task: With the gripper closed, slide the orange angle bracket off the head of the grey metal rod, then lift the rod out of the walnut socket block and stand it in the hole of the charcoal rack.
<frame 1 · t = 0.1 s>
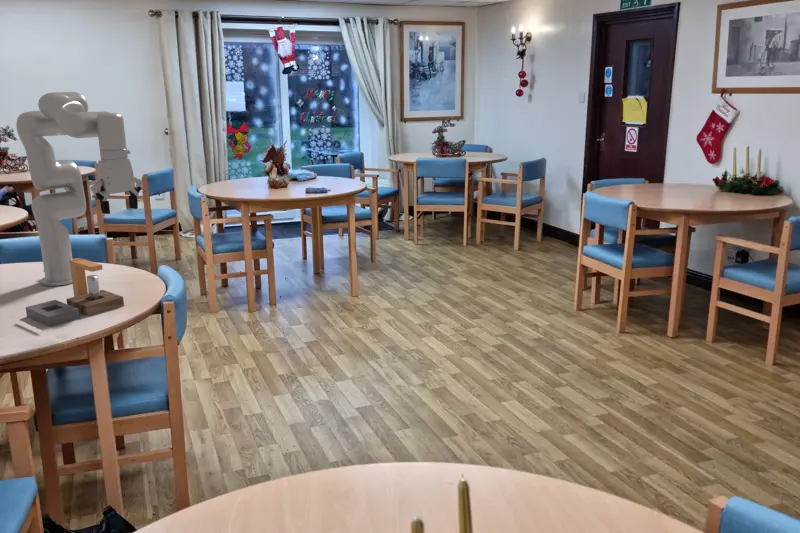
hand: (120, 211, 210), 31 cm above the table, fingers open, 9 cm apart
orange angle bracket: (87, 284, 214), point 8 cm above the table, slide at 0.0 cm
bit rack: (53, 320, 205), on the table
socket block: (96, 309, 215), on the table
grey metal rod: (96, 306, 214), point 1 cm above the table, touching socket block
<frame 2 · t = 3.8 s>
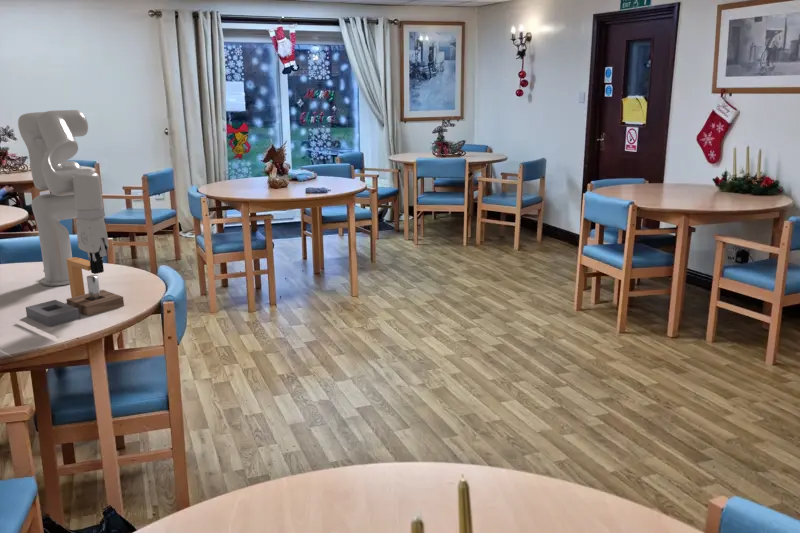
hand: (97, 272, 209), 13 cm above the table, fingers closed
orange angle bracket: (84, 283, 216), point 8 cm above the table, slide at 1.9 cm, touching gripper
everything else where it was.
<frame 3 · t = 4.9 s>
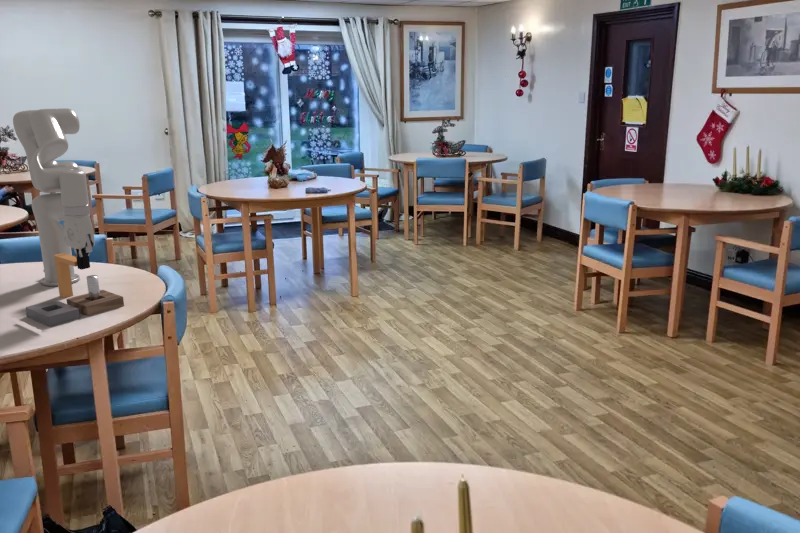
hand: (84, 268, 214), 13 cm above the table, fingers closed
orange angle bracket: (72, 279, 220), point 8 cm above the table, slide at 9.8 cm, touching gripper
everything else where it was.
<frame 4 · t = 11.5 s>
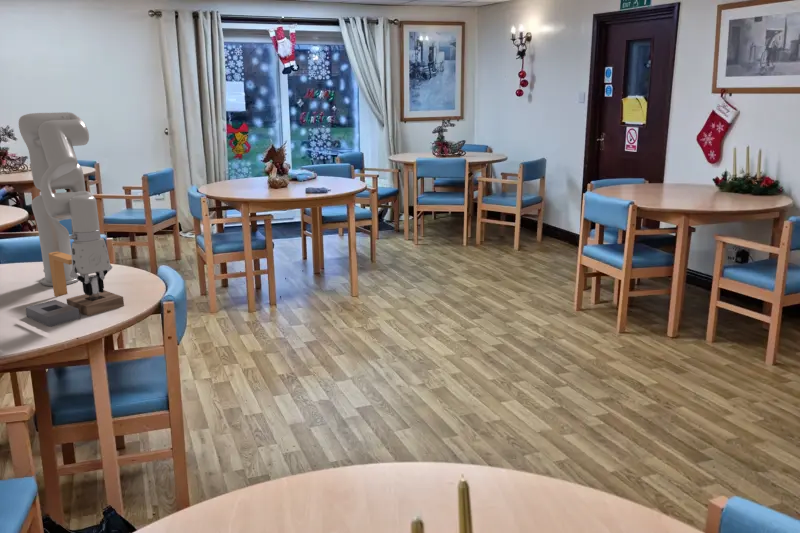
hand: (94, 292, 213), 6 cm above the table, fingers closed on grey metal rod, 3 cm apart
orange angle bracket: (66, 277, 222), point 8 cm above the table, slide at 13.5 cm
grey metal rod: (96, 306, 214), point 1 cm above the table, touching gripper, socket block
when the fingers open (8 cm above the table, at t = 17.9 s): grey metal rod drops 2 cm, resting on bit rack.
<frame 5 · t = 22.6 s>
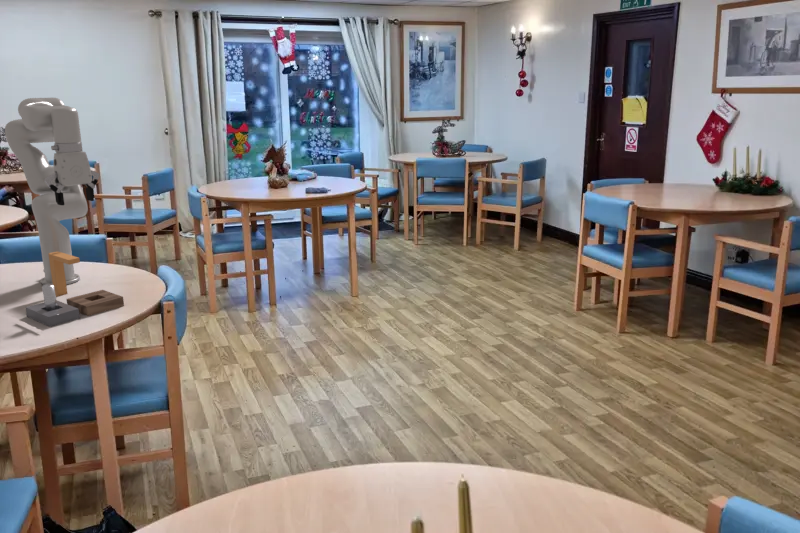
hand: (75, 202, 216), 32 cm above the table, fingers open, 9 cm apart
grey metal rod: (53, 317, 205), point 1 cm above the table, touching bit rack
everything else where it was.
at the end: orange angle bracket slide at 13.5 cm; grey metal rod 0.0 cm off-centre on the bit rack, point 1.0 cm above the bit rack's base; grey metal rod tilted 2° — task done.
